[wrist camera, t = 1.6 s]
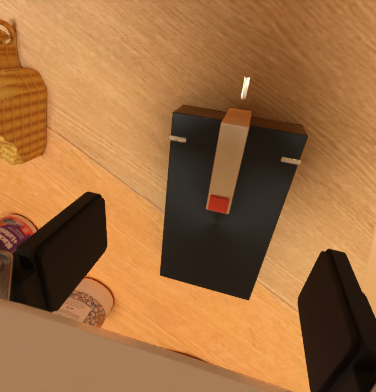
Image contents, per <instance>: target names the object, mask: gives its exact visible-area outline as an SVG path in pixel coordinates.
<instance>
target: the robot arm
mask: <svg viewBox="0 0 376 392" xmlns="http://www.w3.org/2000/svg"><path fill="white" fill-rule="evenodd" d="M106 248H107V231H106V214H105V200H104V199H103V198H102V196H101V195H100V194H97V193H92V192H86V193H84V194H83V195H82V196H81V197H79V198H78V199H77V200H76V201H74V202H73V203H72V204H71V205H69V206H68V207H67V208H65V209H64V210H63V211H62V212H60V213H59V214H58V215H57V216H55V217H54V218H53V219H52V220H50V221H49V222H48V223H47V224H45V225H44V226H43V227H41V228H40V229H39V230H38V231H36V232H35V233H34V234H33V235H31V236H30V237H29V238H28V239H26V240H25V241H24V242H22V243H21V244H20V245H19V246H17V247H16V251H15V252H13V253H12V254H11V253H10V252H8V251H5V250H0V392H293V391H290V390H287V389H284V388H281V387H279V386H276V385H273V384H270V383H267V382H264V381H261V380H258V379H255V378H252V377H249V376H246V375H243V374H240V373H237V372H234V371H231V370H228V369H225V368H222V367H219V366H216V365H213V364H210V363H207V362H204V361H201V360H197V359H194V358H191V357H188V356H185V355H182V354H179V353H176V352H173V351H170V350H167V349H164V348H161V347H158V346H155V345H151V344H148V343H145V342H142V341H139V340H136V339H133V338H130V337H127V336H124V335H121V334H117V333H114V332H111V331H108V330H105V329H102V328H99V327H96V326H92V325H89V324H86V323H83V322H80V321H77V320H74V319H70V318H67V317H64V316H61V315H58V314H54V313H53V312H54V311H58V310H59V309H60V308H61V306H62V305H63V304H64V302H65V301H66V300H67V299H68V297H69V296H70V295H71V294H72V292H73V291H74V290H75V289H76V287H77V286H78V285H79V284H80V282H81V281H82V280H83V278H84V277H85V276H86V275H87V273H88V272H89V271H90V270H91V268H92V267H93V266H94V265H95V263H96V262H97V261H98V260H99V258H100V257H101V256H102V254H103V253H104V252H105V250H106ZM298 310H299V317H300V323H301V330H302V337H303V344H304V351H305V358H306V365H307V371H308V378H309V385H310V391H311V392H376V318H375V316H374V313H373V312H372V309H371V307H370V304H369V302H368V300H367V297H366V296H365V294H364V293H363V292H362V291H361V288H360V286H359V284H358V281H357V279H356V277H355V274H354V272H353V270H352V267H351V265H350V262H349V260H348V258H347V255H346V254H345V253H344V252H340V251H336V250H332V249H327V250H326V252H324V251H322V252H321V253H320V255H319V257H318V259H317V261H316V263H315V265H314V267H313V269H312V271H311V273H310V275H309V277H308V279H307V281H306V283H305V285H304V287H303V289H302V291H301V293H300V295H299V297H298Z"/></svg>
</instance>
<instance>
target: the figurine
mask: <svg viewBox="0 0 376 392" xmlns="http://www.w3.org/2000/svg"><path fill="white" fill-rule="evenodd" d="M0 24H1V25H3V26H5V27H6V28H7V29H8V31H9V33H10V36H9V35H7V34H6V33H5V32H4V31H2V30H0V158H2V159H4V160H6V161H8V162H9V163H10V164H12V165H16V164H23V163H25V162H27V161H30V160H32V159H34V158H36V157H38V156H40V155H42V154H43V152H44V149H45V147H46V114H47V88H46V86H45V85H44V83H43V81H42V79H41V77H40V75H39V73H38V71H36V70H33V69H30V68H21V65H20V63H19V60H18V56H17V44H16V33H15V30H14V28H13V27H12V26H11V25H10V24H9V23H7V22H6V21H4V20H1V19H0ZM10 37H11V41H10V43H8V44H5V42H6V40H7V39H9V38H10Z"/></svg>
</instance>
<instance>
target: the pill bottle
mask: <svg viewBox="0 0 376 392" xmlns="http://www.w3.org/2000/svg"><path fill="white" fill-rule="evenodd" d="M36 231H37V230H36V228H35V227H34V225H33V224H32V223H31V222H30V221H28V220H27V219H26V218H24V217H22V216H20V215H15V214H11V215H8V216H6V217H4V218H2V219H1V220H0V250H5V251H8V252H10V253H11V254H12V253H13V252H15V251H16V247H17V246H19V245H20V244H21V243H22V242H24V241H25V240H26V239H28V238H29V237H30V236H31V235H33V234H34V233H35V232H36Z"/></svg>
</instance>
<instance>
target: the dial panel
mask: <svg viewBox="0 0 376 392" xmlns="http://www.w3.org/2000/svg"><path fill="white" fill-rule="evenodd" d="M249 81H250V77H245V78H244V83H243V88H242V93H241V98H240V99H246V95H247V90H248V86H249ZM226 114H227V112H221V111H215V110H209V109H203V108H198V107H192V106H186V105H183V106H181V107H180V108H178V109H177V110H175V111H174V112H173V117H172V130H171V135H169V140H171V142H170V155H169V167H168V180H167V192H166V205H165V217H164V230H163V242H162V255H161V268H160V276H164V277H167V278H171V279H174V280H178V281H181V282H185V283H189V284H192V285H196V286H199V287H203V288H206V289H210V290H213V291H217V292H221V293H224V294H228V295H231V296H235V297H238V298H242V299H245V300H249V299H250V296H251V293H252V291H253V288H254V285H255V282H256V280H257V277H258V274H259V271H260V268H261V266H262V263H263V260H264V257H265V255H266V252H267V249H268V246H269V243H270V241H271V238H272V235H273V232H274V230H275V227H276V224H277V221H278V219H279V216H280V213H281V210H282V207H283V205H284V202H285V199H286V196H287V194H288V191H289V188H290V185H291V182H292V180H293V177H294V174H295V171H296V169H297V166H298V165H300V164H301V161H302V160H300V158H301V155H302V152H303V149H304V146H305V144H306V141H307V138H308V135H307V133H306V131H305V129H304V127H303V126H302V125H297V124H291V123H285V122H280V121H274V120H268V119H262V118H256V117H251V120H250V126H249V131H248V135H247V139H246V143H245V148H244V152H243V156H242V160H241V165H240V169H239V173H238V177H237V182H236V186H235V190H234V194H233V199H232V203H231V207H230V211H229V214H225V213H220V212H216V211H212V210H207V209H206V205H207V199H208V194H209V188H210V183H211V177H212V171H213V166H214V160H215V154H216V149H217V143H218V138H219V132H220V126H221V122H222V121H223V119H224V117H225V115H226Z"/></svg>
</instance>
